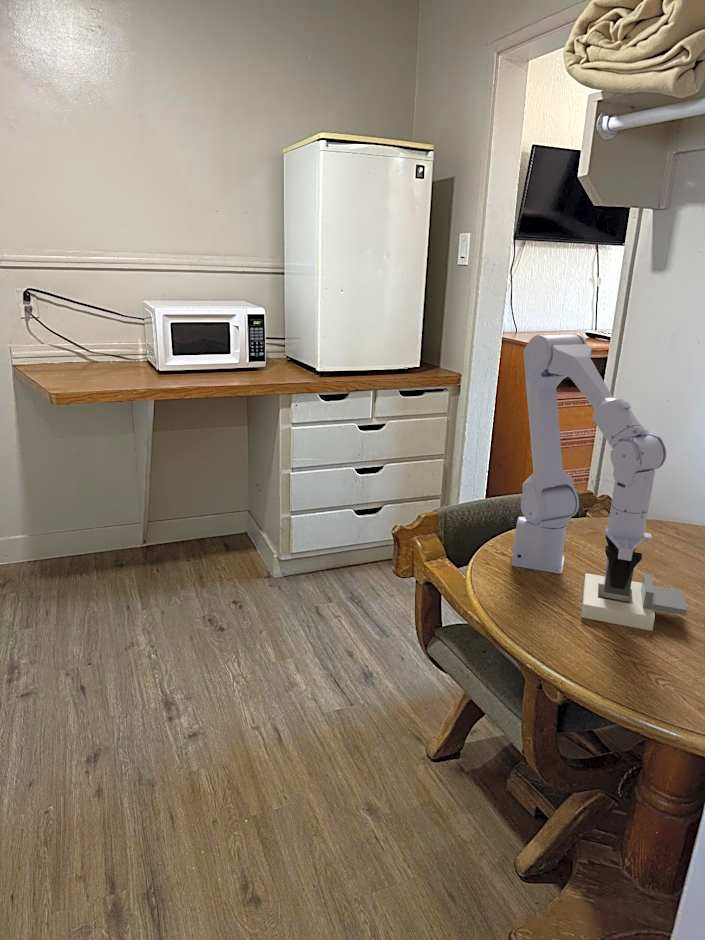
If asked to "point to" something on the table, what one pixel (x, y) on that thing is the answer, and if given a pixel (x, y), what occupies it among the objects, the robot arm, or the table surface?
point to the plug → (615, 590)
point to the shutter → (662, 597)
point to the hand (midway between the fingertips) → (617, 581)
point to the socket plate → (615, 605)
